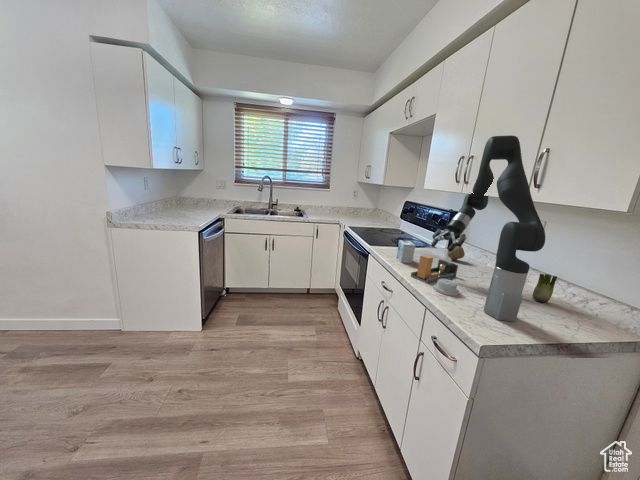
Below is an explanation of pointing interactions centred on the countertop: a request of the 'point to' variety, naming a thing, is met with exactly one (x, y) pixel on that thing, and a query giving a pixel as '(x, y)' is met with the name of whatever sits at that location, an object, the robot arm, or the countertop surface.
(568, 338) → the countertop surface
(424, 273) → the orange block
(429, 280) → the dark grey tray
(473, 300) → the countertop surface
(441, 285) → the mechanical component
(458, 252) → the natural sponge
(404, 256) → the light bulb box
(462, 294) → the countertop surface
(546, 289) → the fennel bulb
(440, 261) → the keeper
